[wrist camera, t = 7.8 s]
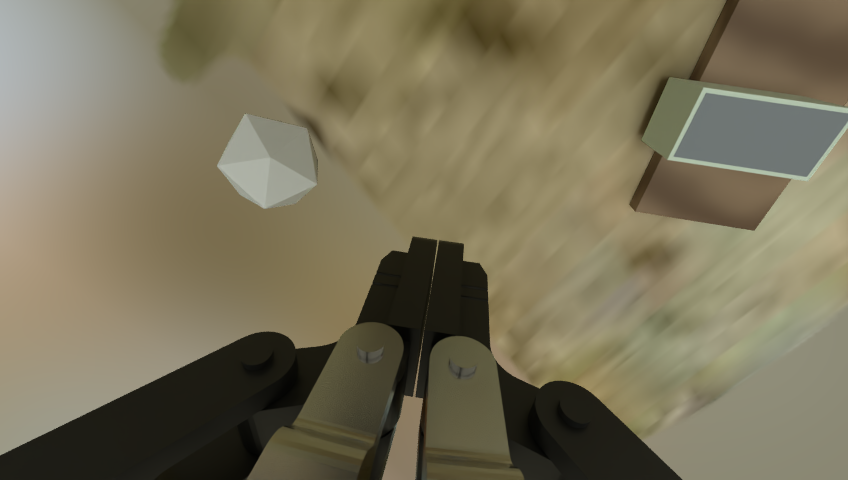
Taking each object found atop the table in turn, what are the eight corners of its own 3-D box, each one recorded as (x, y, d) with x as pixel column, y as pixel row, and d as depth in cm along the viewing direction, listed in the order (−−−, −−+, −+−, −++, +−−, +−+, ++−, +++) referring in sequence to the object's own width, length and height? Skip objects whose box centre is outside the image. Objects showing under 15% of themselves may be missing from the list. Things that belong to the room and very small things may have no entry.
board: (736, -20, 26) (750, -22, 24) (897, 1, 25) (920, 0, 24) (629, 204, 35) (635, 211, 34) (744, 222, 35) (754, 230, 33)
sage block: (704, 87, 24) (861, 110, 23) (669, 76, 28) (802, 96, 27) (667, 160, 26) (808, 181, 26) (641, 140, 31) (761, 158, 30)
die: (321, 100, 34) (212, 91, 27) (352, 183, 34) (248, 195, 27) (288, 140, 40) (191, 141, 33) (314, 212, 40) (220, 228, 33)
